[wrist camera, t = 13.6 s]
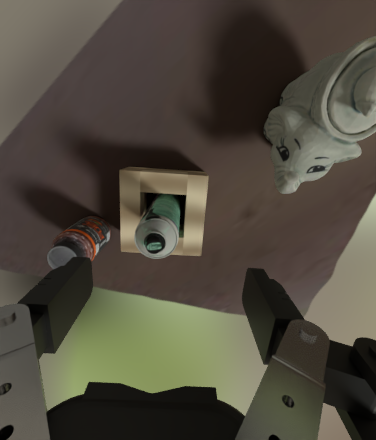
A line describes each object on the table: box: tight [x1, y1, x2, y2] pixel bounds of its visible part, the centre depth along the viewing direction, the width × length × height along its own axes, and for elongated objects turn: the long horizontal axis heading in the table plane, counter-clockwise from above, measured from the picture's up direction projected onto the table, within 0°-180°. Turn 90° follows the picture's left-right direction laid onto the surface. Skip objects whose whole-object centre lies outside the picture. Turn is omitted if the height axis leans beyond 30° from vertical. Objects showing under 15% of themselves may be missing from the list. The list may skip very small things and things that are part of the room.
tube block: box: [119, 167, 208, 256], centre depth 41 cm, size 14×14×7 cm
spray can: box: [134, 193, 181, 259], centre depth 35 cm, size 6×6×20 cm
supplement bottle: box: [47, 216, 111, 269], centre depth 39 cm, size 7×7×13 cm
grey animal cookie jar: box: [264, 36, 376, 194], centre depth 31 cm, size 16×15×19 cm
